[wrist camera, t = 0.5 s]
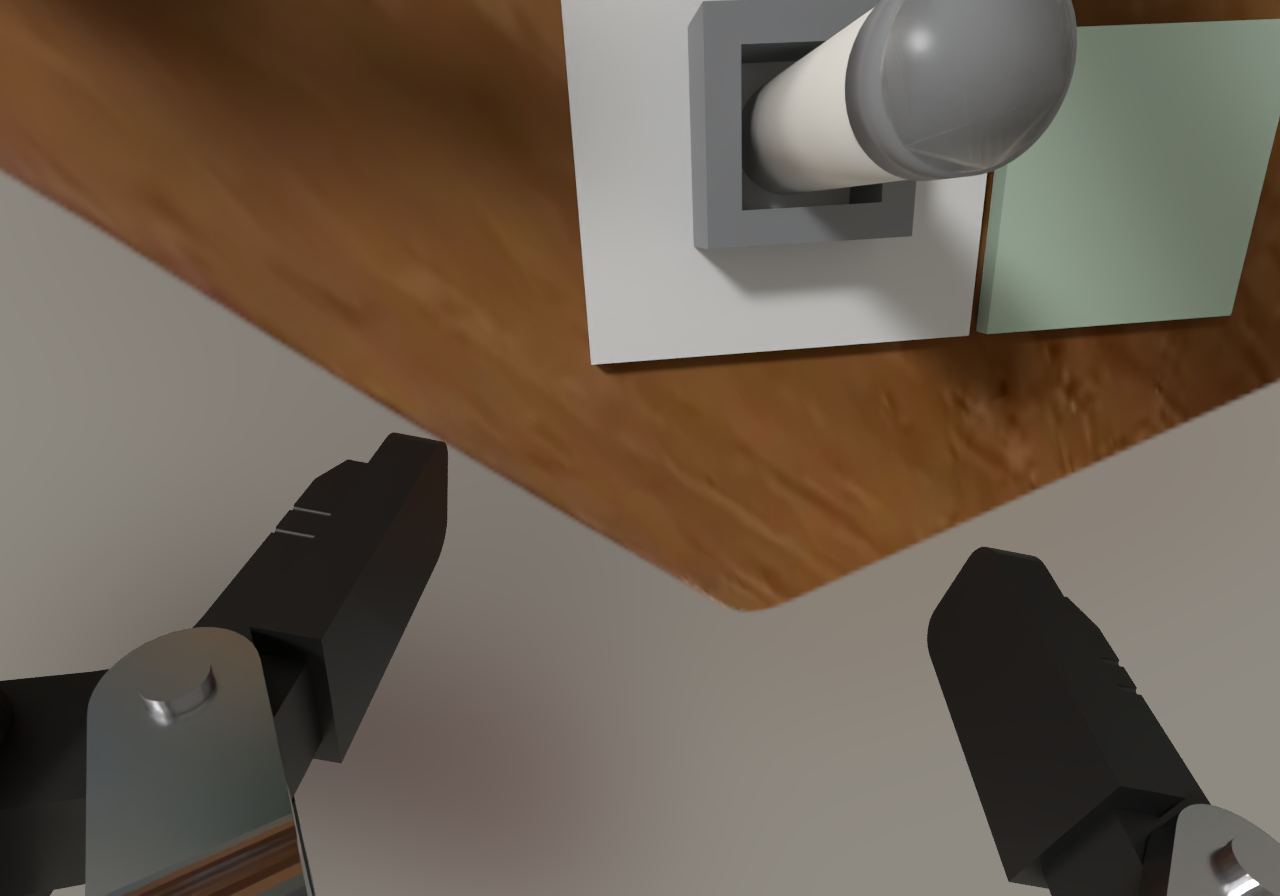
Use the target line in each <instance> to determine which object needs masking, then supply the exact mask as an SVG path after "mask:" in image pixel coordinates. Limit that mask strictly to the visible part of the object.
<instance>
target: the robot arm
mask: <svg viewBox="0 0 1280 896" xmlns="http://www.w3.org/2000/svg"><path fill="white" fill-rule="evenodd" d="M447 484H448V451H447V446H446V443H445V442H442V441H436V440H431V439H426V438H421V437H415V436H410V435H405V434H400V433H391V434H390V435H388V437H387V438H386V439H385V440H384V442H383V443H382V445H381V446H380V447H379V449H378V450H377V451H376V453H375V454H374V456H373V457H372V458H371V460H370V461H369V463H363V462H358V461H353V460H346V461H344V462H343V463H341V464H339V465H338V466H336V467H334V468H333V469H331V470H329V471H328V472H326V473H324V474H322V475H321V476H319V477H317V478H316V479H315V480H314V481H313V482H312V483H311V485H310V486H309V487H308V488H307V489H306V491H305V492H304V493H303V494H302V496H301V497H300V498H299V499H298V500H297V502H296V503H295V504H294V508H293V510H289V511H288V513H287V514H286V515H285V516H284V518H283V519H282V520H281V521H280V523H279V524H278V525H277V527H276V531H275V533H271V534H270V535H269V536H268V537H267V539H266V540H265V541H264V542H263V543H262V545H261V546H260V547H259V548H258V550H257V551H256V552H255V553H254V554H253V556H252V557H251V558H250V559H249V561H248V562H247V563H246V564H245V566H244V567H243V568H242V569H241V570H240V572H239V573H238V574H237V575H236V577H235V578H234V579H233V580H232V581H231V583H230V584H229V585H228V586H227V588H226V589H225V590H224V591H223V592H222V594H221V595H220V596H219V597H218V599H217V600H216V601H215V602H214V604H213V605H212V606H211V607H210V608H209V610H208V611H207V612H206V614H205V615H204V616H203V617H202V618H201V619H200V620H199V621H198V623H197V624H196V625H195V626H194V627H193V628H189V629H183V630H179V631H175V632H171V633H168V634H165V635H162V636H159V637H157V638H155V639H153V640H151V641H148V642H146V643H144V644H142V645H141V646H139V647H137V648H136V649H134V650H132V651H131V652H129V653H128V654H127V655H125V656H124V657H122V658H121V659H120V660H119V661H118V662H117V663H115V664H114V665H113V666H112V667H111V668H110V669H107V670H100V671H94V672H85V673H75V674H65V675H55V676H45V677H35V678H25V679H16V680H7V681H0V896H50V894H51V893H52V891H53V890H55V889H60V888H66V887H71V886H77V885H82V884H85V885H86V886H85V896H316V892H315V888H314V883H313V878H312V874H311V869H310V865H309V860H308V856H307V851H306V846H305V841H304V837H303V832H302V828H301V823H300V818H299V814H298V809H297V804H296V800H295V795H294V794H295V792H296V790H297V788H298V786H299V784H300V783H301V781H302V779H303V777H304V775H305V773H306V771H307V769H308V767H309V765H310V763H311V761H312V759H313V758H314V759H320V760H326V761H331V762H338V763H342V761H343V759H344V757H345V755H346V752H347V750H348V748H349V746H350V744H351V742H352V740H353V738H354V735H355V734H356V731H357V729H358V727H359V725H360V723H361V721H362V719H363V717H364V715H365V713H366V710H367V708H368V706H369V704H370V702H371V700H372V698H373V696H374V694H375V691H376V689H377V687H378V685H379V683H380V681H381V679H382V677H383V675H384V673H385V670H386V668H387V666H388V664H389V662H390V660H391V658H392V656H393V653H394V652H395V649H396V647H397V645H398V643H399V641H400V639H401V637H402V635H403V633H404V631H405V628H406V626H407V624H408V622H409V620H410V618H411V616H412V613H413V612H414V609H415V607H416V605H417V603H418V601H419V599H420V597H421V595H422V593H423V591H424V588H425V586H426V584H427V582H428V580H429V578H430V576H431V574H432V572H433V570H434V567H435V565H436V563H437V561H438V559H439V556H440V553H441V550H442V546H443V543H444V539H445V534H446V527H447ZM927 643H928V650H929V654H930V657H931V660H932V663H933V666H934V669H935V672H936V675H937V677H938V680H939V683H940V686H941V689H942V691H943V695H944V697H945V700H946V703H947V706H948V709H949V712H950V714H951V718H952V720H953V723H954V726H955V729H956V732H957V734H958V738H959V741H960V743H961V746H962V749H963V752H964V755H965V758H966V761H967V764H968V766H969V769H970V772H971V775H972V778H973V781H974V783H975V787H976V789H977V792H978V795H979V798H980V801H981V804H982V807H983V809H984V812H985V815H986V818H987V821H988V824H989V827H990V829H991V832H992V835H993V838H994V841H995V844H996V847H997V850H998V852H999V855H1000V858H1001V861H1002V864H1003V867H1004V870H1005V872H1006V876H1007V878H1008V881H1009V882H1014V883H1019V884H1025V885H1031V886H1036V887H1042V888H1048V889H1049V890H1050V893H1051V895H1052V896H1280V844H1279V843H1278V842H1277V841H1276V840H1275V839H1273V838H1272V837H1271V836H1270V835H1268V834H1267V833H1266V832H1264V831H1263V830H1261V829H1260V828H1259V827H1257V826H1256V825H1254V824H1253V823H1251V822H1249V821H1248V820H1246V819H1244V818H1243V817H1241V816H1239V815H1237V814H1235V813H1232V812H1231V811H1228V810H1226V809H1223V808H1220V807H1217V806H1212V805H1211V804H1210V803H1209V801H1208V800H1207V798H1206V796H1205V795H1204V793H1203V792H1202V790H1201V789H1200V787H1199V785H1198V784H1197V782H1196V781H1195V779H1194V777H1193V776H1192V774H1191V773H1190V771H1189V770H1188V768H1187V767H1186V765H1185V763H1184V762H1183V760H1182V758H1181V757H1180V755H1179V754H1178V752H1177V751H1176V749H1175V747H1174V746H1173V744H1172V743H1171V741H1170V740H1169V738H1168V736H1167V735H1166V733H1165V732H1164V730H1163V728H1162V727H1161V726H1160V724H1159V722H1158V721H1157V719H1156V717H1155V716H1154V714H1153V713H1152V711H1151V710H1150V708H1149V706H1148V705H1147V703H1146V702H1145V700H1144V699H1143V697H1142V695H1138V694H1136V686H1135V684H1134V683H1133V681H1132V680H1131V678H1130V677H1129V675H1128V673H1127V672H1126V670H1125V669H1124V667H1120V666H1119V665H1118V662H1119V659H1118V657H1117V656H1116V654H1115V653H1114V651H1113V650H1112V648H1111V646H1110V645H1109V643H1108V642H1107V640H1106V639H1105V637H1104V635H1103V634H1102V632H1101V631H1100V629H1099V628H1098V627H1097V626H1096V625H1095V624H1094V623H1093V622H1092V621H1091V620H1090V619H1089V618H1088V617H1087V616H1086V615H1085V614H1084V613H1083V612H1082V611H1081V610H1080V609H1079V608H1078V607H1077V606H1076V605H1075V604H1074V603H1073V602H1072V601H1070V599H1069V598H1068V597H1064V596H1063V594H1062V592H1061V591H1060V589H1059V588H1058V586H1057V584H1056V583H1055V581H1054V580H1053V578H1052V576H1051V574H1050V573H1049V571H1048V569H1047V568H1046V566H1045V565H1044V564H1043V562H1042V561H1041V560H1040V559H1038V558H1037V557H1035V556H1031V555H1025V554H1020V553H1015V552H1009V551H1004V550H999V549H994V548H988V547H981V548H978V549H977V550H975V551H974V552H973V553H972V554H971V555H970V557H969V558H968V560H967V562H966V563H965V564H964V566H963V567H962V569H961V571H960V572H959V574H958V575H957V577H956V578H955V580H954V581H953V583H952V585H951V586H950V588H949V589H948V590H947V592H946V594H945V595H944V597H943V598H942V600H941V601H940V603H939V604H938V606H937V607H936V609H935V611H934V612H933V614H932V616H931V619H930V622H929V626H928V634H927Z"/></svg>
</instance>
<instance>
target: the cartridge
mask: <svg viewBox="0 0 1280 896" xmlns="http://www.w3.org/2000/svg"><path fill="white" fill-rule="evenodd" d="M1076 52H1077V26H1076V18H1075V12H1074V9H1073V5H1072V1H1071V0H881V1H880V2H879V3H878V4H877V5H876V6H875V7H874V8H872V9H871V10H870V11H868V12H867V13H865V14H864V15H862V16H861V17H860V18H858V19H857V20H855V21H854V22H852V23H851V24H850V25H848V26H847V27H845V28H844V29H843V30H841V31H840V32H838V33H837V34H835V35H834V36H833V37H831V38H830V39H828V40H827V41H825V42H824V43H823V44H821V45H820V46H818V47H817V48H816V49H814V50H813V51H811V52H810V53H808V54H807V55H806V56H804V57H803V58H801V59H800V60H798V61H797V62H796V63H794V64H793V65H791V66H790V67H789V68H787V69H786V70H784V71H783V72H781V73H780V74H779V75H777V76H776V77H774V78H773V79H771V80H770V81H769V82H767V83H766V84H764V85H763V86H762V87H760V88H759V89H758V90H757V91H756V92H755V93H754V94H753V95H752V96H751V97H750V98H749V100H748V101H747V103H746V104H745V106H744V108H743V110H742V112H741V122H742V168H743V170H744V172H745V173H746V175H747V176H748V177H749V178H750V180H751V181H752V182H754V183H755V184H756V185H757V186H759V187H760V188H762V189H764V190H766V191H768V192H771V193H774V194H780V195H788V194H796V193H804V192H813V191H821V190H829V189H837V188H845V187H853V186H862V185H870V184H878V183H886V182H894V181H902V180H913V181H933V180H942V179H951V178H959V177H968V176H976V175H981V174H984V173H988V172H991V171H994V170H996V169H998V168H1001V167H1003V166H1005V165H1007V164H1008V163H1010V162H1012V161H1013V160H1015V159H1016V158H1018V157H1019V156H1020V155H1022V154H1023V153H1024V152H1026V151H1027V150H1028V149H1029V148H1030V147H1031V146H1032V145H1033V144H1034V143H1035V142H1036V141H1037V140H1038V139H1039V138H1040V137H1041V136H1042V134H1043V133H1044V132H1045V131H1046V130H1047V128H1048V127H1049V125H1050V124H1051V122H1052V121H1053V119H1054V118H1055V116H1056V114H1057V113H1058V111H1059V109H1060V107H1061V105H1062V103H1063V101H1064V99H1065V96H1066V94H1067V91H1068V89H1069V86H1070V82H1071V79H1072V76H1073V71H1074V66H1075V61H1076Z"/></svg>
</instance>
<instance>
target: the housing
mask: <svg viewBox="0 0 1280 896" xmlns="http://www.w3.org/2000/svg"><path fill="white" fill-rule="evenodd" d="M880 1H881V0H561V8H562V20H563V32H564V45H565V57H566V69H567V81H568V93H569V105H570V117H571V129H572V141H573V153H574V165H575V177H576V189H577V201H578V213H579V225H580V237H581V249H582V261H583V273H584V285H585V297H586V309H587V321H588V333H589V345H590V357H591V365H595V364H608V363H621V362H634V361H647V360H660V359H673V358H685V357H698V356H711V355H724V354H737V353H750V352H763V351H776V350H789V349H802V348H815V347H828V346H841V345H854V344H867V343H880V342H892V341H905V340H918V339H931V338H944V337H957V336H969V331H970V322H971V313H972V304H973V295H974V287H975V278H976V269H977V260H978V251H979V242H980V233H981V224H982V215H983V206H984V198H985V189H986V180H987V173H984V174H981V175H976V176H968V177H959V178H951V179H942V180H933V181H913V180H902V181H894V182H886V183H878V184H870V185H862V186H853V187H845V188H837V189H829V190H821V191H813V192H804V193H796V194H788V195H780V194H774V193H771V192H768V191H766V190H764V189H762V188H760V187H759V186H757V185H756V184H755V183H754V182H752V181H751V180H750V178H749V177H748V176H747V175H746V173H745V172H744V170H743V168H742V122H741V112H742V110H743V108H744V106H745V104H746V103H747V101H748V100H749V98H750V97H751V96H752V95H753V94H754V93H755V92H756V91H757V90H758V89H759V88H760V87H762V86H763V85H764V84H766V83H767V82H769V81H770V80H771V79H773V78H774V77H776V76H777V75H779V74H780V73H781V72H783V71H784V70H786V69H787V68H789V67H790V66H791V65H793V64H794V63H796V62H797V61H798V60H800V59H801V58H803V57H804V56H806V55H807V54H808V53H810V52H811V51H813V50H814V49H816V48H817V47H818V46H820V45H821V44H823V43H824V42H825V41H827V40H828V39H830V38H831V37H833V36H834V35H835V34H837V33H838V32H840V31H841V30H843V29H844V28H845V27H847V26H848V25H850V24H851V23H852V22H854V21H855V20H857V19H858V18H860V17H861V16H862V15H864V14H865V13H867V12H868V11H870V10H871V9H872V8H874V7H875V6H876V5H877V4H878V3H879V2H880Z"/></svg>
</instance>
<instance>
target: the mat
mask: <svg viewBox="0 0 1280 896" xmlns="http://www.w3.org/2000/svg"><path fill="white" fill-rule="evenodd" d="M1279 117H1280V19H1262V20H1237V21H1212V22H1187V23H1162V24H1137V25H1112V26H1087V27H1077V52H1076V61H1075V66H1074V71H1073V76H1072V79H1071V82H1070V86H1069V89H1068V91H1067V94H1066V96H1065V99H1064V101H1063V103H1062V105H1061V107H1060V109H1059V111H1058V113H1057V114H1056V116H1055V118H1054V119H1053V121H1052V122H1051V124H1050V125H1049V127H1048V128H1047V130H1046V131H1045V132H1044V133H1043V134H1042V136H1041V137H1040V138H1039V139H1038V140H1037V141H1036V142H1035V143H1034V144H1033V145H1032V146H1031V147H1030V148H1029V149H1028V150H1027V151H1026V152H1024V153H1023V154H1022V155H1020V156H1019V157H1018V158H1016V159H1015V160H1013V161H1012V162H1010V163H1008V164H1007V165H1005V166H1003V167H1001V168H998V169H996V170H995V171H994V179H993V188H992V197H991V205H990V214H989V223H988V231H987V240H986V249H985V257H984V266H983V274H982V283H981V292H980V300H979V309H978V318H977V326H976V331H977V332H981V333H984V334H996V333H1009V332H1022V331H1035V330H1048V329H1061V328H1074V327H1087V326H1100V325H1112V324H1125V323H1138V322H1151V321H1164V320H1177V319H1190V318H1203V317H1216V316H1229V315H1231V313H1232V309H1233V305H1234V301H1235V297H1236V292H1237V288H1238V284H1239V280H1240V276H1241V272H1242V268H1243V264H1244V260H1245V256H1246V252H1247V248H1248V243H1249V239H1250V235H1251V231H1252V227H1253V223H1254V219H1255V215H1256V211H1257V207H1258V203H1259V198H1260V194H1261V190H1262V186H1263V182H1264V178H1265V174H1266V170H1267V166H1268V162H1269V158H1270V153H1271V149H1272V145H1273V141H1274V137H1275V133H1276V129H1277V125H1278V121H1279Z"/></svg>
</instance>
